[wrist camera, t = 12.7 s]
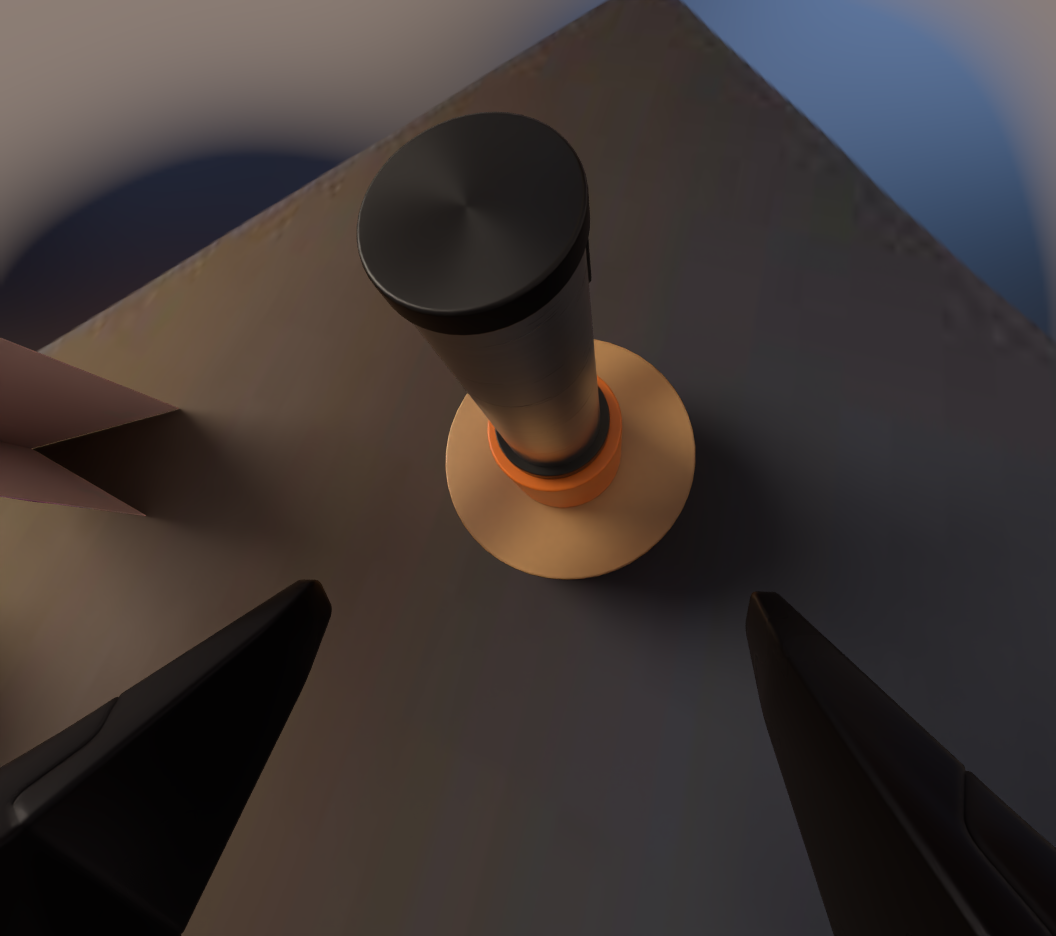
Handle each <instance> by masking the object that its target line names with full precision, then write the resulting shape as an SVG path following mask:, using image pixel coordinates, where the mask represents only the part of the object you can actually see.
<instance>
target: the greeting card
mask: <svg viewBox="0 0 1056 936" xmlns="http://www.w3.org/2000/svg"><path fill="white" fill-rule="evenodd" d="M176 409H179V408H178V407H175V406H172V405H170V404H167V403H165V402H162V401H160V400H157V399H155V398H152V397H150V396H147V395H145V394H142V393H139V392H137V391H134V390H132V389H129V388H127V387H124V386H122V385H119V384H117V383H114V382H112V381H109V380H106V379H104V378H101V377H99V376H96V375H94V374H91V373H89V372H86V371H84V370H81V369H79V368H76V367H73V366H71V365H68V364H66V363H63V362H61V361H58V360H56V359H53V358H51V357H48V356H46V355H43V354H41V353H38V352H35V351H33V350H30V349H28V348H25V347H23V346H20V345H18V344H15V343H13V342H10V341H7V340H5V339H2V338H0V497H7V498H13V499H20V500H27V501H33V502H42V503H52V504H59V505H67V506H74V507H82V508H89V509H96V510H104V511H111V512H119V513H126V514H133V515H141V516H146V515H144V514H143V513H141V512H139V511H138V510H136V509H134V508H132V507H131V506H129V505H127V504H126V503H124V502H122V501H120V500H119V499H117V498H115V497H114V496H112V495H110V494H108V493H107V492H105V491H103V490H102V489H100V488H98V487H96V486H95V485H93V484H91V483H90V482H88V481H86V480H84V479H83V478H81V477H79V476H78V475H76V474H74V473H72V472H71V471H69V470H67V469H66V468H64V467H62V466H60V465H59V464H57V463H55V462H54V461H52V460H50V459H48V458H47V457H45V456H43V455H42V454H40V453H38V452H36V451H35V450H33V449H31V448H35V447H39V446H42V445H46V444H50V443H54V442H57V441H61V440H65V439H68V438H72V437H76V436H80V435H83V434H87V433H91V432H95V431H98V430H102V429H106V428H109V427H113V426H117V425H121V424H124V423H128V422H132V421H135V420H139V419H143V418H147V417H150V416H154V415H158V414H161V413H165V412H169V411H173V410H176Z"/></svg>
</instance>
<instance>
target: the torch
mask: <svg viewBox="0 0 1056 936" xmlns="http://www.w3.org/2000/svg"><path fill="white" fill-rule="evenodd" d="M589 229H590V210H589V195H588V185H587V179H586V174H585V171H584V168H583V166H582V163H581V161H580V159H579V157H578V156H577V154H576V152H575V150H574V149H573V148H572V146H571V145H570V144H569V143H568V141H567V140H566V139H565V138H564V137H563V136H562V135H560V134H559V133H558V132H557V131H556V130H554V129H553V128H551V127H550V126H548V125H547V124H545V123H543V122H540V121H538V120H536V119H534V118H531V117H527V116H524V115H520V114H514V113H509V112H481V113H475V114H469V115H464V116H460V117H457V118H453V119H450V120H448V121H445V122H442V123H440V124H437V125H435V126H433V127H431V128H429V129H427V130H425V131H424V132H422V133H421V134H419V135H417V136H416V137H414V138H413V139H411V140H410V141H409V142H407V143H406V144H405V145H403V146H402V147H401V148H400V149H399V150H398V151H397V152H396V153H394V154H393V155H392V156H391V157H390V158H389V160H388V161H387V162H386V163H385V164H384V165H383V166H382V168H381V169H380V170H379V172H378V173H377V175H376V176H375V177H374V179H373V181H372V183H371V184H370V186H369V188H368V190H367V192H366V194H365V197H364V199H363V201H362V205H361V208H360V212H359V216H358V223H357V244H358V250H359V256H360V259H361V262H362V265H363V268H364V270H365V271H366V273H367V275H368V277H369V279H370V280H371V281H372V283H373V284H374V286H375V287H376V288H377V289H378V291H379V292H380V293H381V294H382V296H383V297H384V298H385V299H386V300H387V302H388V303H389V304H390V305H391V306H392V307H393V308H394V309H395V310H396V311H397V312H398V313H399V314H400V315H401V316H403V317H404V318H405V319H407V320H408V321H410V322H411V323H413V324H414V325H415V326H416V328H417V329H418V330H419V332H420V333H421V334H422V335H423V337H424V338H425V339H426V340H427V342H428V343H429V344H430V346H431V347H432V348H433V349H434V351H435V352H436V353H437V355H438V356H439V357H440V358H441V360H442V361H443V362H444V363H445V365H446V366H447V367H448V369H449V370H450V371H451V372H452V374H453V375H454V376H455V377H456V379H457V380H458V381H459V383H460V384H461V385H462V386H463V388H464V389H465V390H466V391H467V393H468V394H469V395H470V397H471V398H472V399H473V400H474V402H475V403H476V404H477V406H478V407H479V408H480V409H481V411H482V412H483V413H484V414H485V416H486V417H487V418H488V429H487V433H488V442H489V447H490V450H491V452H492V455H493V457H494V459H495V461H496V463H497V464H498V466H499V467H500V468H501V470H502V471H503V472H504V473H505V474H506V475H507V476H508V477H509V478H510V479H511V480H512V481H513V482H514V483H515V484H516V485H517V486H518V487H520V488H521V489H522V490H523V491H524V492H525V493H526V494H527V495H528V496H529V497H531V498H532V499H534V500H536V501H537V502H539V503H542V504H544V505H548V506H552V507H559V508H567V507H574V506H578V505H582V504H584V503H587V502H589V501H591V500H593V499H594V498H596V497H597V496H599V495H600V494H601V493H602V492H603V491H604V490H605V489H606V488H607V487H608V486H609V485H610V483H611V482H612V480H613V479H614V477H615V475H616V473H617V470H618V467H619V464H620V458H621V443H622V415H621V410H620V406H619V403H618V401H617V399H616V397H615V395H614V393H613V392H612V390H611V389H610V387H609V386H608V385H607V384H606V383H605V382H604V381H603V380H602V379H601V378H600V377H599V376H597V372H596V361H595V349H594V338H593V326H592V315H591V303H590V292H589V283H590V281H591V266H590V253H589V240H588V236H589Z"/></svg>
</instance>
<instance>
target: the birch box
mask: <svg viewBox="0 0 1056 936" xmlns="http://www.w3.org/2000/svg"><path fill="white" fill-rule="evenodd" d="M594 349H595V361H596V372H597V376H599V377H600V378H601V379H602V380H603V381H604V382H605V383H606V384H607V385H608V386H609V387H610V389H611V390H612V392H613V393H614V395H615V397H616V399H617V401H618V403H619V406H620V410H621V415H622V443H621V458H620V464H619V467H618V470H617V473H616V475H615V477H614V479H613V480H612V482H611V483H610V485H609V486H608V487H607V488H606V489H605V490H604V491H603V492H602V493H601V494H600V495H599V496H597V497H596V498H594V499H593V500H591V501H589V502H587V503H584V504H582V505H578V506H574V507H567V508H559V507H552V506H548V505H544V504H542V503H539V502H537V501H536V500H534V499H532V498H531V497H529V496H528V495H527V494H526V493H525V492H524V491H523V490H522V489H521V488H520V487H518V486H517V485H516V484H515V483H514V482H513V481H512V480H511V479H510V478H509V477H508V476H507V475H506V474H505V473H504V472H503V471H502V470H501V468H500V467H499V466H498V464H497V463H496V461H495V459H494V457H493V455H492V452H491V450H490V447H489V442H488V433H487V429H488V418H487V417H486V416H485V414H484V413H483V412H482V411H481V409H480V408H479V407H478V406H477V404H476V403H475V402H474V400H473V399H472V398H471V397H470V395H469V394H467V395H466V396H465V398H464V400H463V401H462V403H461V405H460V407H459V409H458V411H457V413H456V415H455V418H454V420H453V423H452V426H451V429H450V433H449V437H448V442H447V450H446V475H447V483H448V488H449V491H450V495H451V499H452V501H453V504H454V506H455V509H456V511H457V514H458V515H459V517H460V519H461V520H462V522H463V524H464V526H465V527H466V529H467V530H468V531H469V532H470V534H471V535H472V536H473V538H474V539H475V540H476V541H477V542H478V543H479V544H480V545H481V546H482V547H483V548H484V549H485V550H486V551H488V552H489V553H490V554H492V555H493V556H494V557H496V558H497V559H499V560H500V561H502V562H504V563H505V564H507V565H509V566H511V567H513V568H515V569H518V570H520V571H523V572H525V573H528V574H531V575H536V576H540V577H544V578H552V579H563V580H569V579H585V578H590V577H596V576H601V575H604V574H607V573H610V572H613V571H616V570H618V569H620V568H622V567H624V566H626V565H628V564H630V563H632V562H634V561H635V560H637V559H638V558H640V557H641V556H643V555H644V554H645V553H647V552H648V551H649V550H650V549H651V548H652V547H653V546H655V545H656V544H657V543H658V542H659V541H660V540H661V539H662V538H663V537H664V535H665V534H666V533H667V532H668V531H669V530H670V528H671V527H672V526H673V524H674V523H675V521H676V519H677V518H678V516H679V515H680V513H681V511H682V509H683V507H684V505H685V502H686V500H687V498H688V495H689V492H690V489H691V485H692V482H693V476H694V469H695V441H694V434H693V429H692V426H691V422H690V419H689V415H688V413H687V411H686V409H685V406H684V404H683V402H682V400H681V398H680V397H679V395H678V394H677V392H676V391H675V389H674V387H673V386H672V385H671V384H670V383H669V381H668V380H667V379H666V378H665V377H664V375H663V374H661V373H660V372H659V371H658V370H657V369H656V368H655V367H654V366H653V365H651V364H650V363H649V362H647V361H646V360H644V359H643V358H641V357H640V356H638V355H637V354H635V353H633V352H631V351H629V350H627V349H625V348H622V347H619V346H617V345H614V344H611V343H608V342H603V341H599V340H594Z"/></svg>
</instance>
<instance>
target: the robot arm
mask: <svg viewBox="0 0 1056 936" xmlns="http://www.w3.org/2000/svg"><path fill="white" fill-rule="evenodd" d="M331 612H332V607H331V603H330V601H329V599H328V597H327V595H326V593H325V591H324V589H323V586H322V584H321V583H320V582H319V581H318V580H305V579H303V580H299V581H297V582H295V583H293V584H292V585H290V586H289V587H287V588H286V589H284V590H282V591H281V592H279V593H278V594H276V595H275V596H273V597H272V598H270V599H268V600H267V601H265V602H264V603H262V604H261V605H259V606H257V607H256V608H254V609H253V610H251V611H250V612H248V613H247V614H245V615H243V616H242V617H240V618H239V619H237V620H236V621H234V622H232V623H231V624H229V625H228V626H226V627H225V628H223V629H222V630H220V631H218V632H217V633H215V634H214V635H212V636H211V637H209V638H208V639H206V640H204V641H203V642H201V643H200V644H198V645H197V646H195V647H193V648H192V649H190V650H189V651H187V652H186V653H184V654H183V655H181V656H179V657H178V658H176V659H175V660H173V661H172V662H170V663H168V664H167V665H165V666H164V667H162V668H161V669H159V670H158V671H156V672H154V673H153V674H151V675H150V676H148V677H147V678H145V679H143V680H142V681H140V682H139V683H137V684H136V685H134V686H133V687H131V688H129V689H128V690H126V691H125V692H123V693H122V694H121V695H120V696H119V697H115V698H114V699H112V700H111V701H109V702H107V703H106V704H104V705H103V706H101V707H100V708H98V709H97V710H95V711H94V712H92V713H90V714H89V715H87V716H86V717H84V718H82V719H81V720H79V721H77V722H76V723H74V724H73V725H71V726H69V727H68V728H66V729H65V730H63V731H61V732H60V733H58V734H57V735H55V736H53V737H51V738H50V739H48V740H46V741H45V742H43V743H41V744H40V745H38V746H36V747H35V748H33V749H31V750H30V751H28V752H26V753H24V754H23V755H21V756H19V757H18V758H16V759H14V760H13V761H11V762H9V763H7V764H6V765H4V766H2V767H1V768H0V936H181V934H182V933H183V932H184V930H185V928H186V926H187V924H188V922H189V920H190V918H191V916H192V914H193V912H194V909H195V907H196V905H197V903H198V901H199V899H200V897H201V895H202V893H203V891H204V889H205V887H206V885H207V883H208V881H209V879H210V877H211V875H212V873H213V871H214V869H215V867H216V865H217V862H218V860H219V858H220V856H221V854H222V852H223V850H224V848H225V846H226V844H227V842H228V840H229V838H230V836H231V834H232V832H233V830H234V828H235V826H236V824H237V822H238V820H239V818H240V816H241V813H242V811H243V809H244V807H245V805H246V803H247V801H248V799H249V797H250V795H251V793H252V791H253V789H254V787H255V785H256V783H257V781H258V779H259V777H260V775H261V773H262V771H263V769H264V766H265V764H266V762H267V760H268V758H269V756H270V754H271V752H272V750H273V748H274V746H275V744H276V742H277V740H278V738H279V736H280V734H281V732H282V730H283V728H284V726H285V724H286V722H287V719H288V717H289V715H290V713H291V711H292V709H293V707H294V705H295V703H296V701H297V699H298V697H299V695H300V693H301V691H302V689H303V686H304V684H305V682H306V680H307V677H308V675H309V672H310V670H311V667H312V665H313V662H314V659H315V657H316V654H317V651H318V649H319V646H320V643H321V641H322V638H323V636H324V633H325V630H326V628H327V625H328V622H329V620H330V617H331ZM746 635H747V640H748V645H749V649H750V654H751V659H752V664H753V669H754V674H755V679H756V684H757V689H758V694H759V698H760V703H761V708H762V712H763V716H764V720H765V723H766V726H767V730H768V733H769V736H770V739H771V742H772V745H773V748H774V751H775V754H776V758H777V761H778V764H779V767H780V770H781V773H782V776H783V779H784V782H785V785H786V788H787V792H788V795H789V798H790V801H791V804H792V807H793V810H794V813H795V816H796V819H797V822H798V826H799V829H800V832H801V835H802V838H803V841H804V844H805V847H806V850H807V853H808V856H809V860H810V863H811V866H812V869H813V872H814V875H815V878H816V881H817V884H818V887H819V890H820V894H821V897H822V900H823V903H824V906H825V909H826V912H827V915H828V918H829V921H830V925H831V928H832V931H833V934H834V936H1056V848H1055V847H1054V846H1053V845H1051V844H1050V843H1049V842H1048V841H1047V840H1045V839H1044V838H1043V837H1042V836H1041V835H1040V834H1039V833H1038V832H1037V831H1035V830H1034V829H1033V828H1032V827H1031V826H1030V825H1029V824H1028V823H1027V822H1025V821H1024V820H1023V819H1022V818H1021V817H1020V816H1019V815H1018V814H1016V813H1015V812H1014V811H1013V810H1012V809H1011V808H1010V807H1009V806H1008V805H1006V804H1005V803H1004V802H1003V801H1002V800H1001V799H1000V798H999V797H998V796H996V795H995V794H994V793H993V792H992V791H991V790H990V789H989V788H988V787H987V786H986V785H985V784H984V783H982V782H981V781H980V780H979V779H978V778H977V777H976V776H975V775H974V774H973V773H972V772H970V771H965V767H964V765H963V764H962V763H961V762H959V761H958V760H957V759H956V758H955V757H954V756H953V755H952V754H951V753H950V752H949V751H948V750H947V749H945V748H944V747H943V746H942V745H941V744H940V743H939V742H938V741H937V740H936V739H935V738H934V737H932V736H931V735H930V734H929V733H928V732H927V731H926V730H925V729H924V728H923V727H922V726H921V725H920V724H918V723H917V722H916V721H915V720H914V719H913V718H912V717H911V716H910V715H909V714H908V713H907V712H905V711H904V710H903V709H902V708H901V707H900V706H899V705H898V704H897V703H896V702H895V701H894V700H893V699H891V698H890V697H889V696H888V695H887V694H886V693H885V692H884V691H883V690H882V689H881V688H880V687H878V686H877V685H876V684H875V683H874V682H873V681H872V680H871V679H870V678H869V677H868V676H867V675H866V674H864V673H863V672H862V671H861V670H860V669H859V668H858V667H857V666H856V665H855V664H854V663H853V662H851V661H850V660H849V659H848V658H847V657H846V656H845V655H844V654H843V653H842V652H841V651H840V650H839V649H837V648H836V647H835V646H834V645H833V644H832V643H831V642H830V641H829V640H828V639H827V638H826V637H824V636H823V635H822V634H821V633H820V632H819V631H818V630H817V629H816V628H815V627H814V626H813V625H812V624H810V623H809V622H808V621H807V620H806V619H805V618H804V617H803V616H802V615H801V614H800V613H799V612H797V611H796V610H795V609H794V608H793V607H792V606H791V605H790V604H789V603H788V602H787V601H786V600H785V599H783V598H782V597H781V596H780V595H779V594H777V593H775V592H760V591H756V592H753V593H752V594H751V597H750V601H749V606H748V612H747V617H746Z"/></svg>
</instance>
